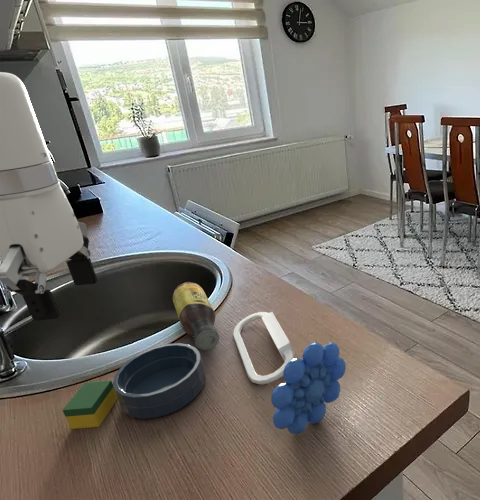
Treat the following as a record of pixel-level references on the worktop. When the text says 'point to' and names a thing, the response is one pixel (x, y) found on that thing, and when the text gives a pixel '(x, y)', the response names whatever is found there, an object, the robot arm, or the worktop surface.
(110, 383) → the sponge
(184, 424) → the worktop surface
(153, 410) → the bowl
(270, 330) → the oval loop handle
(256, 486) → the worktop surface
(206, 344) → the sauce bottle
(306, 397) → the blue flower ornament
